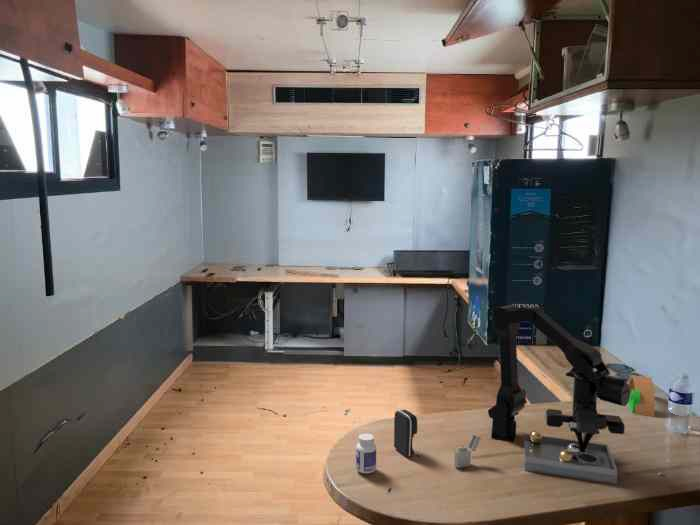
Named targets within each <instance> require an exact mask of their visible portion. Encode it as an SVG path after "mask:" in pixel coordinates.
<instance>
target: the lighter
mask: <svg viewBox="0 0 700 525" xmlns="http://www.w3.org/2000/svg"><path fill="white" fill-rule="evenodd" d="M481 438H482V437H481V436H480V435H478V434H476V433H473V435H472V437H471V439H470V442H468V446H467V445H465V444H464V445H461V446H459V447H458V449H455V450H454V457H453V458H454V459H453V466H454V467H455V468H457V469H462V468H466V467H470V466H471V458H472V455H471V453H472V452H476V450H477V448H478V445H479V444H480V441H481Z"/></svg>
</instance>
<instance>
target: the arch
mask: <svg viewBox="0 0 700 525" xmlns="http://www.w3.org/2000/svg"><path fill="white" fill-rule="evenodd" d="M627 384H628V385H629V389H630V395H631V390H635V391H640V404H635V414H634V415H637V416H644V417H649V418H655V409H656V408H655V405H656V404H655V401H656V400H655V387H654V382H653V379H652V377H651V376H641V375H635V374H630V376H629V378H628V381H627Z"/></svg>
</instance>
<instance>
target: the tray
mask: <svg viewBox="0 0 700 525" xmlns="http://www.w3.org/2000/svg"><path fill="white" fill-rule="evenodd" d="M572 443H573V444H576V445H578V446H579V442H578V439H570V438H563V437H562V438H561V437H556V436H548V435H542V440H541V442H539V443H534V442H532V441H531V439H530V433H526V432H525V433H524V434H523V460H524V464H523V465H524V471H526V472H533V473H538V474H545V475H550V476H558V477H563V478H564V477H565V478H571V479H575V480H576V479H577V480H581V481H582V480H583V481H588V482H589V481H590V482H596V483H602V484H607V485H614V486H617V484H618V476H619V475H618V473H619V471H618V467H617V465H616V463H615V460H614V458H613V455H612V452H611V450H610V448H609V444H605V443H599V442H598V443H597V442H591V441H589V443H588V445H587V447H586V449H585V451H584V452H581V449H580V454H579V455H578V456H577V457H573V460H572V462H571V463H567V462H561V461H560V460H559V453H560V452H561V451H563V450H567V446H568V445H569V444H572ZM579 448H580V446H579Z"/></svg>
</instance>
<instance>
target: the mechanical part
mask: <svg viewBox="0 0 700 525" xmlns="http://www.w3.org/2000/svg"><path fill="white" fill-rule="evenodd" d="M635 404H640V391H635V390H631V394H630V398H629V401H628V403H627V406H628V407H629V410H630V412H631V413H632V414H633V415H635Z"/></svg>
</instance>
